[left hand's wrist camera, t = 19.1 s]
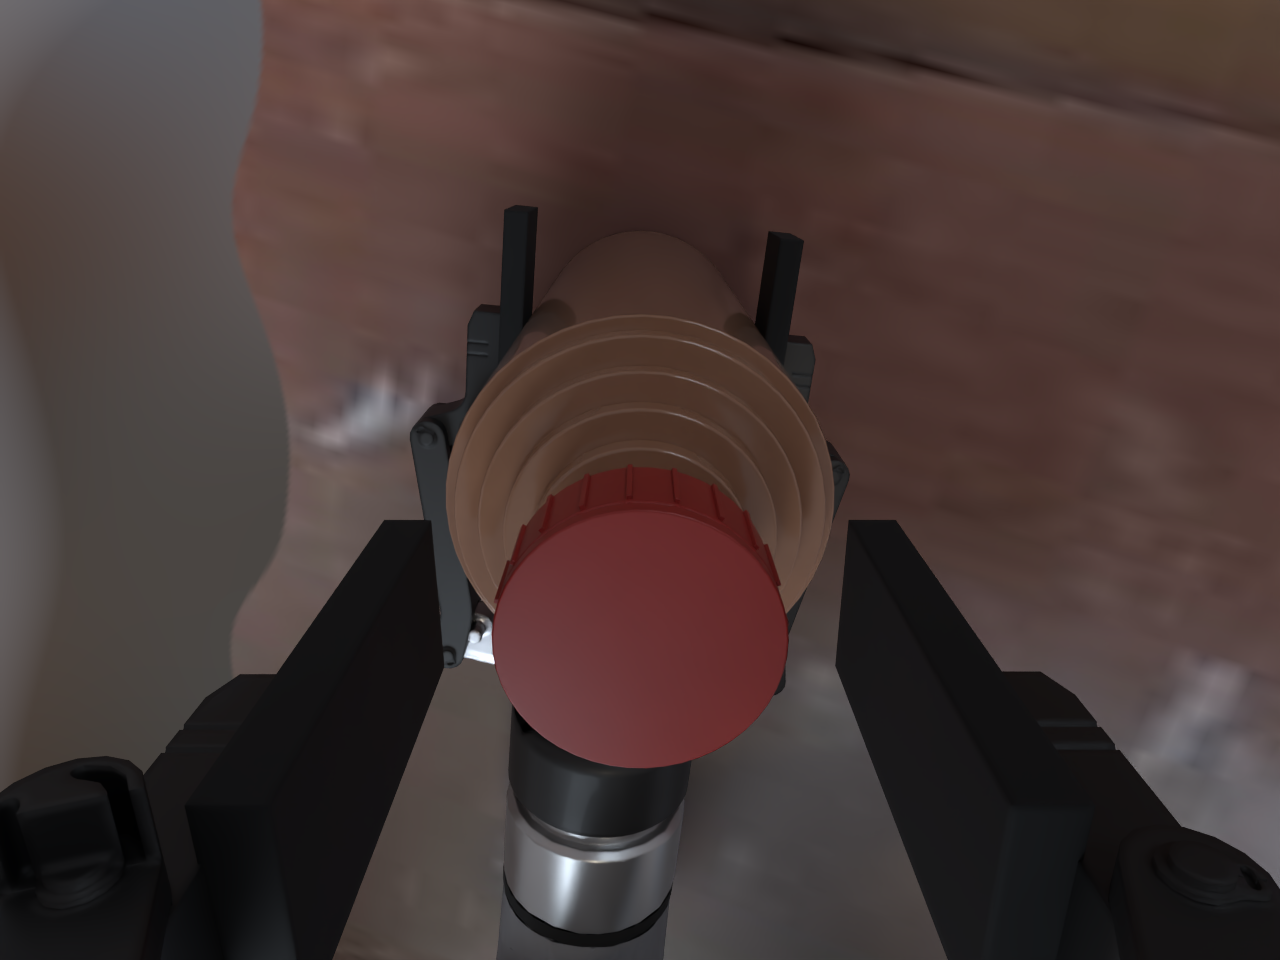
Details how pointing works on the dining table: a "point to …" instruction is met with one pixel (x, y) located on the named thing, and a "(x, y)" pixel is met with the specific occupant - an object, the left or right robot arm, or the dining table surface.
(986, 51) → the dining table surface
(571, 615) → the cap
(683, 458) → the bottle
